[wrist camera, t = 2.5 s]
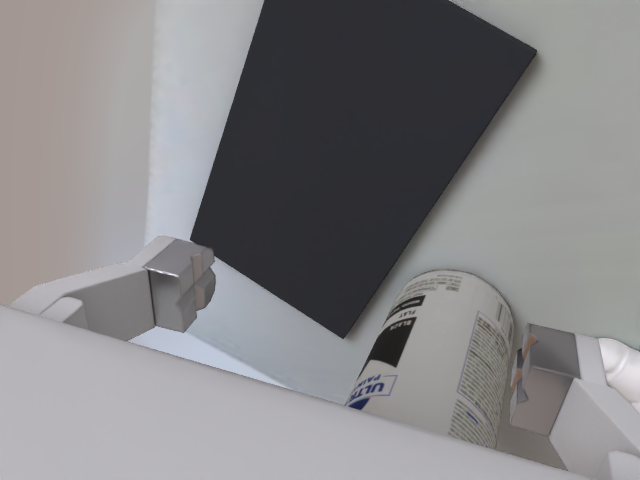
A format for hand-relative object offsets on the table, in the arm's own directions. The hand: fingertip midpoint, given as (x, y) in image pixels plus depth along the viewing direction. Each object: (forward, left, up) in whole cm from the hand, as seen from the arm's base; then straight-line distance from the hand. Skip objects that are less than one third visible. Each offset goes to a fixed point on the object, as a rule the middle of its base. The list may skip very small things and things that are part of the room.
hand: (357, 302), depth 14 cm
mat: (+6, -5, -15) cm, 16 cm away
